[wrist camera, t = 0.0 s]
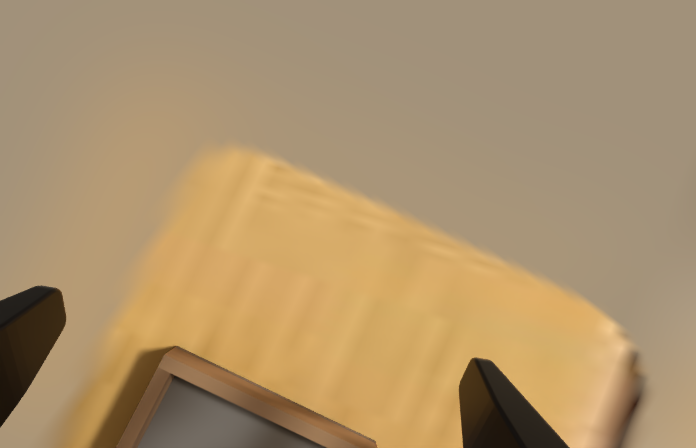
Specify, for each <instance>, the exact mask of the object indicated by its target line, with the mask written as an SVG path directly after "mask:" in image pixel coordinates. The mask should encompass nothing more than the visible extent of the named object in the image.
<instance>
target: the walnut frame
mask: <svg viewBox="0 0 696 448" xmlns="http://www.w3.org/2000/svg"><path fill="white" fill-rule="evenodd" d="M116 448H377V445H376V442H375V441H374V440H372V439H370V438H368V437H366V436H364V435H362V434H360V433H358V432H355V431H353V430H351V429H349V428H347V427H345V426H343V425H341V424H339V423H337V422H335V421H332V420H330V419H328V418H326V417H324V416H322V415H320V414H318V413H316V412H314V411H312V410H310V409H307V408H305V407H303V406H301V405H299V404H297V403H295V402H293V401H291V400H289V399H287V398H285V397H282V396H280V395H278V394H276V393H274V392H272V391H270V390H268V389H266V388H264V387H262V386H260V385H257V384H255V383H253V382H251V381H249V380H247V379H245V378H243V377H241V376H239V375H237V374H234V373H232V372H230V371H228V370H226V369H224V368H222V367H220V366H218V365H216V364H214V363H212V362H209V361H207V360H205V359H203V358H201V357H199V356H197V355H195V354H193V353H191V352H189V351H187V350H184V349H182V348H180V347H178V346H176V347H174V348H173V349H172V350H170V351H169V352H167V353H166V354H164V356H163V358H162V360H161V362H160V364H159V366H158V368H157V370H156V372H155V373H154V375H153V377H152V379H151V381H150V383H149V385H148V387H147V389H146V391H145V393H144V395H143V396H142V398H141V400H140V402H139V404H138V406H137V408H136V410H135V412H134V414H133V416H132V417H131V419H130V421H129V423H128V425H127V427H126V429H125V431H124V433H123V435H122V437H121V438H120V440H119V442H118V444H117V446H116Z"/></svg>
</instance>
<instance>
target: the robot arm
mask: <svg viewBox="0 0 696 448" xmlns="http://www.w3.org/2000/svg"><path fill="white" fill-rule="evenodd" d="M65 323H66V313H65V307H64V302H63V296H62V292H61V291H60V290H59V289H57V288H53V287H47V286H35V287H33V288H30V289H28V290H25V291H23V292H20V293H18V294H16V295H13V296H11V297H8V298H6V299H4V300H1V301H0V427H1V426H2V425H3V423H4V422H5V420H6V419H7V418H8V416H9V415H10V414H11V412H12V411H13V410H14V408H15V407H16V405H17V404H18V403H19V401H20V400H21V398H22V397H23V395H24V394H25V393H26V391H27V389H28V388H29V386H30V385H31V383H32V381H33V380H34V378H35V376H36V374H37V373H38V371H39V369H40V368H41V366H42V364H43V363H44V361H45V359H46V358H47V356H48V354H49V353H50V350H51V349H52V347H53V346H54V344H55V342H56V341H57V339H58V337H59V336H60V334H61V332H62V331H63V328H64V326H65ZM459 400H460V412H461V425H462V438H463V448H569V447H568V445H567V444H566V443H565V442H564V441H563V440H562V439H561V438H560V437H559V435H558V434H557V433H556V432H555V431H554V430H553V429H552V428H551V426H550V425H549V424H548V423H547V422H546V421H545V420H544V419H543V418H542V416H541V415H540V414H539V413H538V412H537V411H536V410H535V409H534V407H533V406H532V405H531V404H530V403H529V402H528V401H527V400H526V399H525V397H524V396H523V395H522V394H521V393H520V392H519V391H518V390H517V389H516V387H515V386H514V385H513V384H512V383H511V382H510V381H509V380H508V378H507V377H506V376H505V375H504V374H503V373H502V372H501V371H500V370H499V368H498V367H497V366H496V365H495V364H494V363H493V362H492V361H490V360H488V359H482V358H472V359H471V360H470V362H469V364H468V366H467V368H466V370H465V372H464V375H463V377H462V379H461V381H460V385H459Z"/></svg>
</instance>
